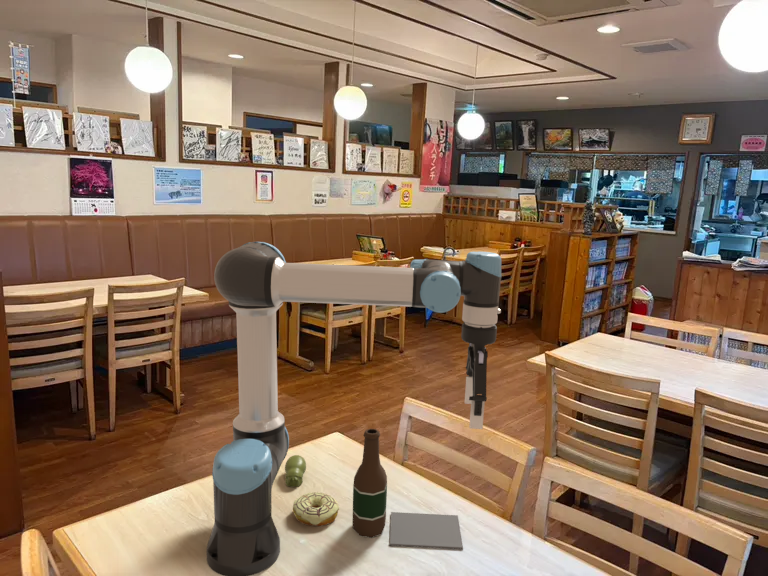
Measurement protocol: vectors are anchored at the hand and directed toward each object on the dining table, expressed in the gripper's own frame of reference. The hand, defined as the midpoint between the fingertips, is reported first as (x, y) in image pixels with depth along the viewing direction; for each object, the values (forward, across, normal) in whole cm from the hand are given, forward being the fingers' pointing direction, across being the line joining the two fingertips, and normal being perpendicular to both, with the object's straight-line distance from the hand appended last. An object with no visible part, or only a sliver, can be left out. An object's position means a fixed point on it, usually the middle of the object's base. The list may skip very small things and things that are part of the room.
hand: (473, 415), depth 126 cm
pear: (+28, +16, +44) cm, 55 cm away
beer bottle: (+28, -3, +22) cm, 36 cm away
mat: (+28, -3, +9) cm, 30 cm away
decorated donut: (+28, +1, +35) cm, 45 cm away
